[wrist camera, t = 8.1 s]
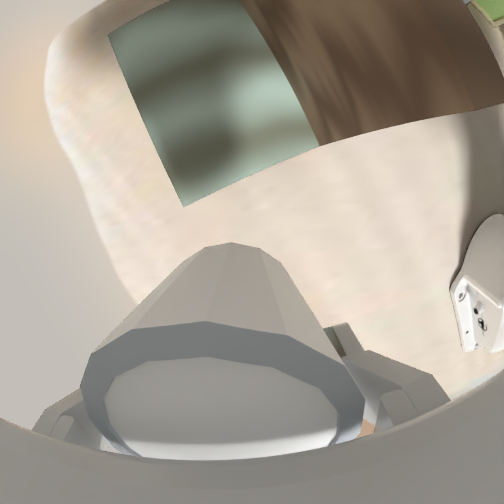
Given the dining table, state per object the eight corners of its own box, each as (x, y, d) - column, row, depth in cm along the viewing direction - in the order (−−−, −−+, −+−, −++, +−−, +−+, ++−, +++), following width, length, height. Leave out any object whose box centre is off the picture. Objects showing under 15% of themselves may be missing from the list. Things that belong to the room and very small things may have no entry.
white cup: (129, 263, 11) (31, 360, 4) (280, 200, 10) (333, 261, 4) (198, 378, 13) (175, 496, 6) (327, 338, 12) (375, 460, 6)
